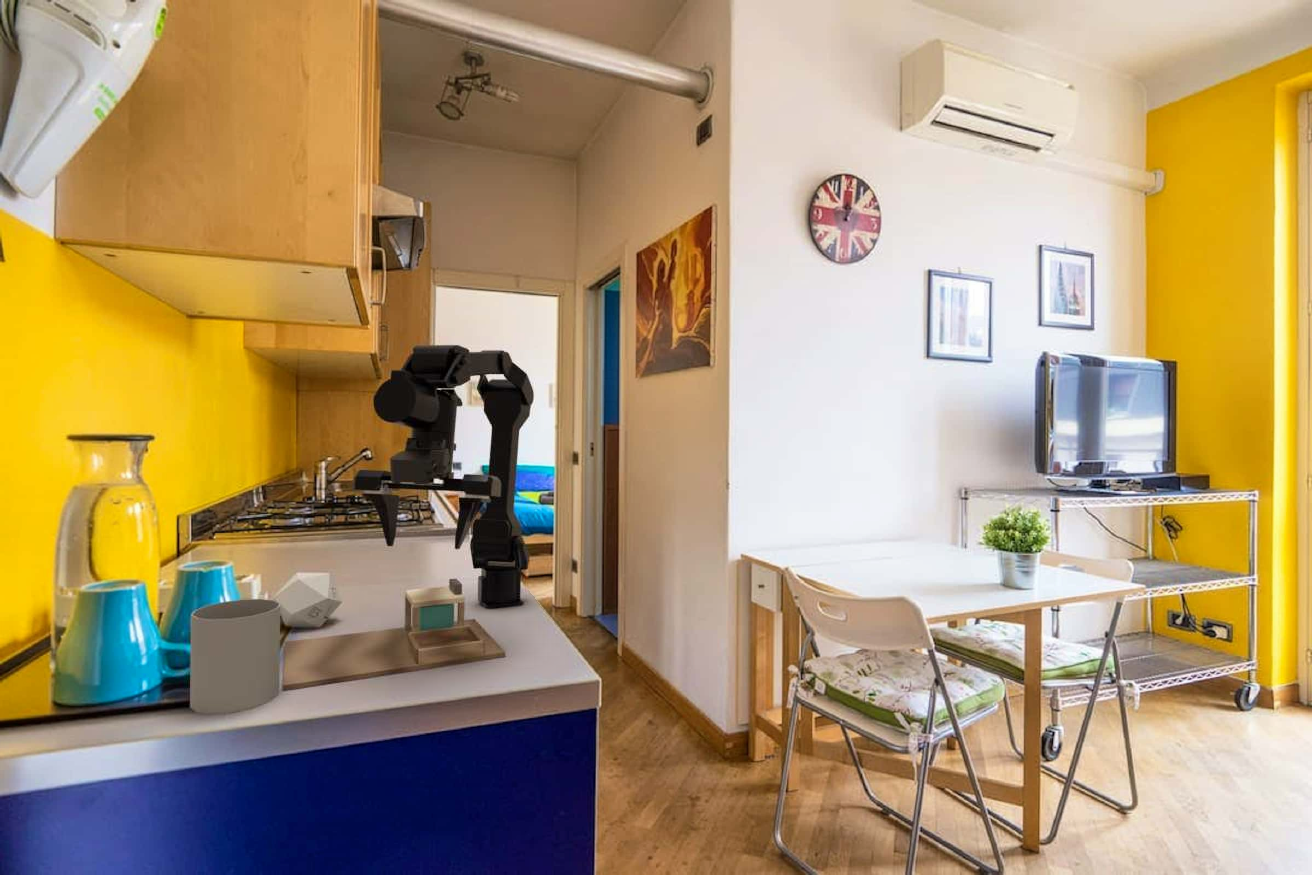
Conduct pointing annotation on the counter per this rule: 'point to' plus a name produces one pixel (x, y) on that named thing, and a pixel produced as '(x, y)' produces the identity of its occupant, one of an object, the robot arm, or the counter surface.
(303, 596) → the die
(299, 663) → the board
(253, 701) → the cup
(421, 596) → the bridge
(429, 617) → the block
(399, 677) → the counter surface
